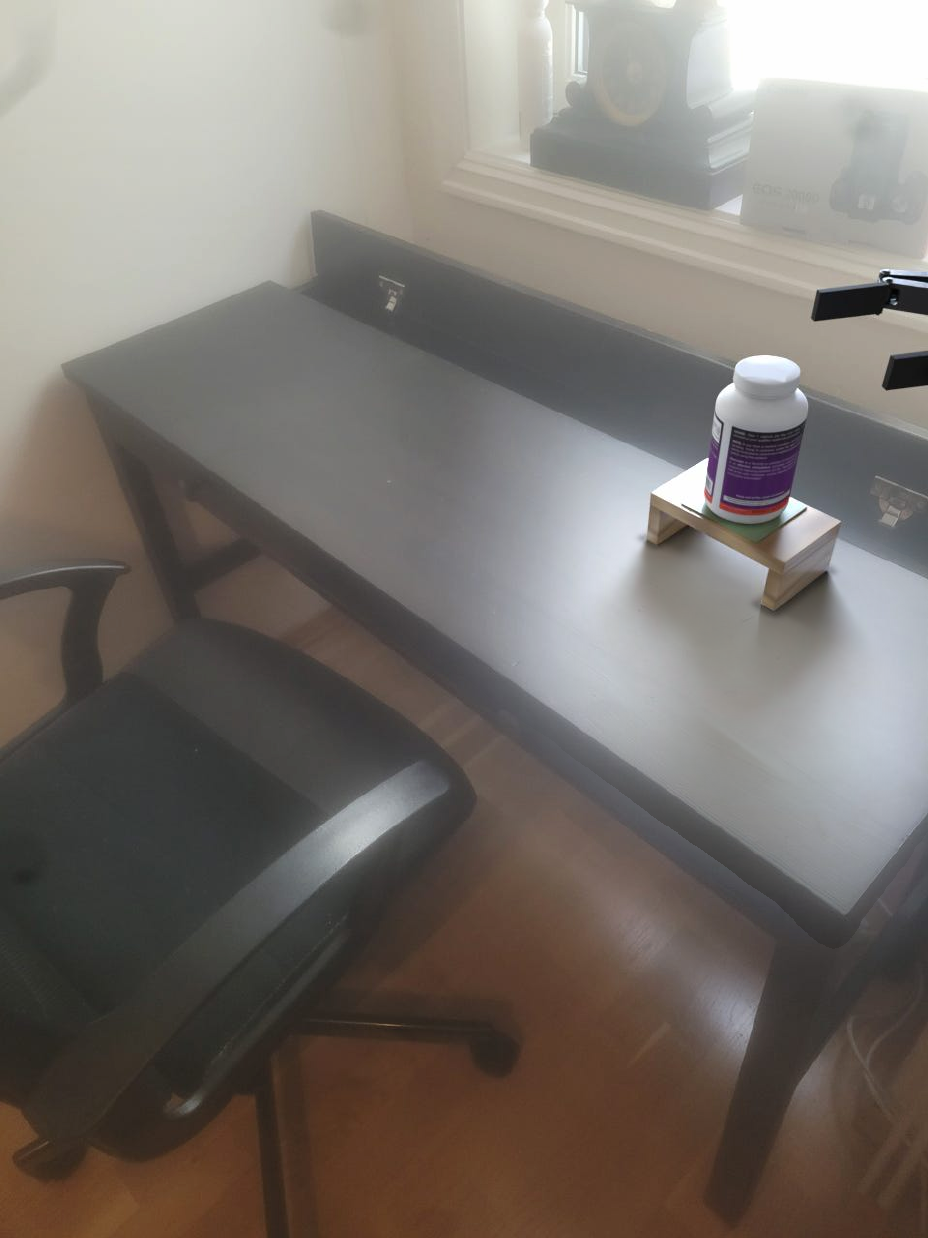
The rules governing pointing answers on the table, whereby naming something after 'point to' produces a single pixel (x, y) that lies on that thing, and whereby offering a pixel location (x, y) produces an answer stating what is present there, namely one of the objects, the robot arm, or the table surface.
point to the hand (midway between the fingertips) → (848, 337)
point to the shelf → (750, 534)
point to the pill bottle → (756, 441)
